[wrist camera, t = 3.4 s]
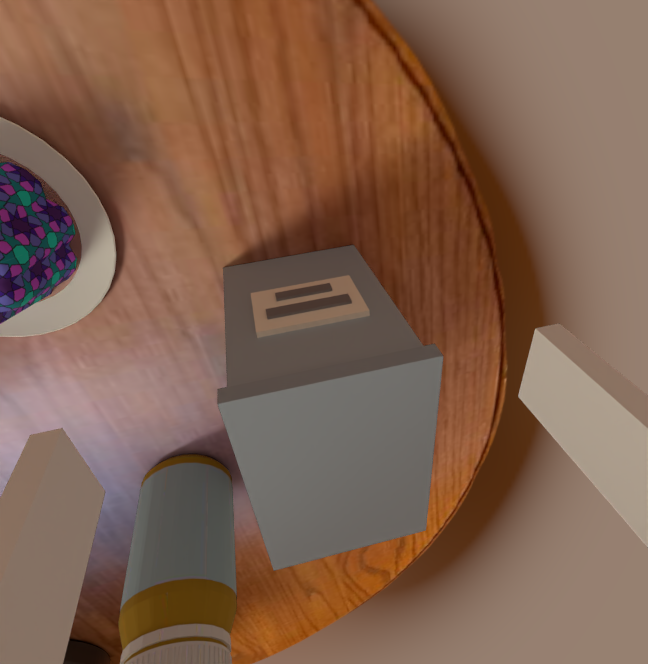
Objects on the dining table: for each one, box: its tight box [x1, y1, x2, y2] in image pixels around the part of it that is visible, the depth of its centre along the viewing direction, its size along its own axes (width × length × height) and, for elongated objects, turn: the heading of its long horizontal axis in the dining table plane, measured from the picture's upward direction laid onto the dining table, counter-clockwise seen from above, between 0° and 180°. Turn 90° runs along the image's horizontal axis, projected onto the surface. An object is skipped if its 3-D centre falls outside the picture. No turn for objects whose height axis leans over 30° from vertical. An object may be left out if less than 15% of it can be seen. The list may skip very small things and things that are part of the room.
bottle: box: [118, 454, 237, 664], centre depth 28 cm, size 7×7×15 cm
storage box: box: [218, 245, 443, 571], centre depth 24 cm, size 13×9×12 cm
